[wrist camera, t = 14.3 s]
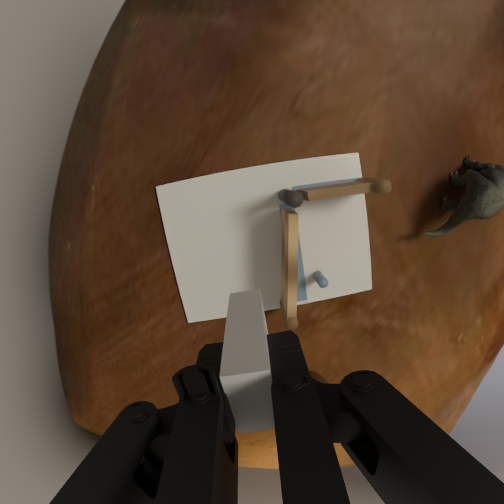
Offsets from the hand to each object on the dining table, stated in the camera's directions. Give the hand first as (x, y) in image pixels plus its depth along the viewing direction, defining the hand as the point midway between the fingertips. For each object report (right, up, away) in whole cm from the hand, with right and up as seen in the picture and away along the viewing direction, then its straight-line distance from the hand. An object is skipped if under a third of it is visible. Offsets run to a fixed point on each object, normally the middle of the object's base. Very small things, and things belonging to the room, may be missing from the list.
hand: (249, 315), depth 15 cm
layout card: (+2, +5, +22) cm, 22 cm away
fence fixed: (+9, +11, +20) cm, 25 cm away
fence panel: (+4, +2, +21) cm, 22 cm away
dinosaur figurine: (+31, +13, +21) cm, 39 cm away
